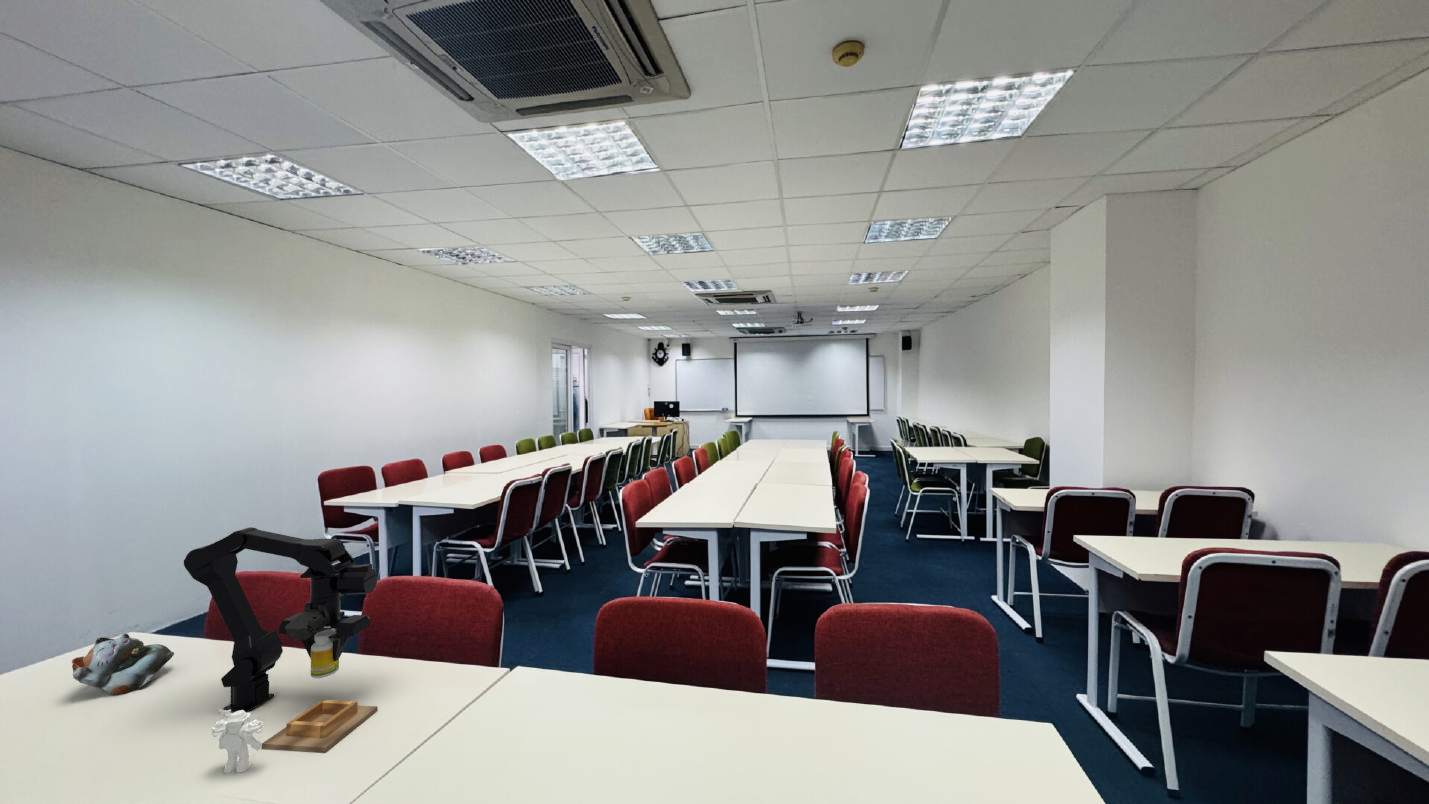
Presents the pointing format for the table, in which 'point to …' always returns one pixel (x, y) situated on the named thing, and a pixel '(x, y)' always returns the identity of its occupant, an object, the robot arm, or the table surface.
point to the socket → (320, 726)
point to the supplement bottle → (323, 655)
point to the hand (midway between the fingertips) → (324, 660)
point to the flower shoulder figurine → (237, 738)
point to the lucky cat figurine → (120, 664)
